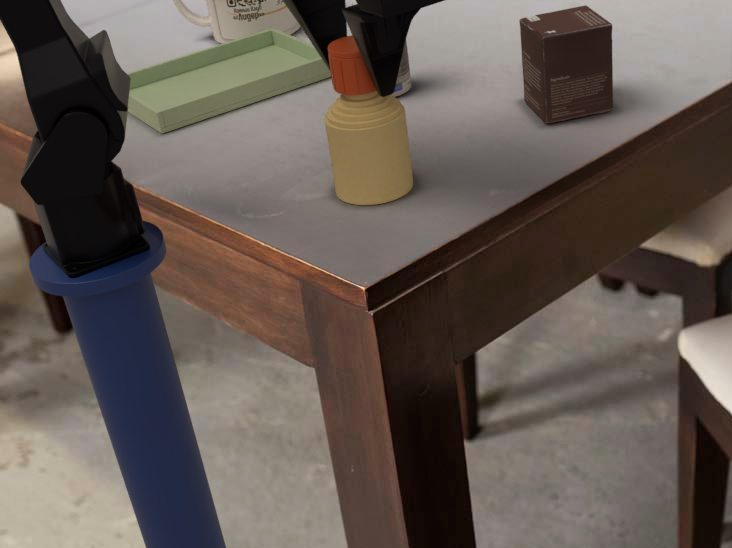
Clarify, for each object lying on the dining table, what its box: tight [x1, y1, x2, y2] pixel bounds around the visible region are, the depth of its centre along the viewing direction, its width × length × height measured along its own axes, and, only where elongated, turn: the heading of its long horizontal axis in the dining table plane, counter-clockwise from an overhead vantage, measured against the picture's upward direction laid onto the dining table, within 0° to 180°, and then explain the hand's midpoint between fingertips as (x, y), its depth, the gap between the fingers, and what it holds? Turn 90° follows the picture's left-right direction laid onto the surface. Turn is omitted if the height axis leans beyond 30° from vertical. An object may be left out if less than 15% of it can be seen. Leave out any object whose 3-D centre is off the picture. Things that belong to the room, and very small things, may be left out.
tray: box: [125, 28, 331, 135], centre depth 108 cm, size 19×13×2 cm
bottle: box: [324, 91, 414, 206], centre depth 82 cm, size 6×6×10 cm
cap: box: [328, 34, 377, 95], centre depth 80 cm, size 4×4×3 cm
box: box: [518, 5, 614, 124], centre depth 91 cm, size 6×6×7 cm
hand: (363, 85), depth 80 cm, fingers open, 6 cm apart
